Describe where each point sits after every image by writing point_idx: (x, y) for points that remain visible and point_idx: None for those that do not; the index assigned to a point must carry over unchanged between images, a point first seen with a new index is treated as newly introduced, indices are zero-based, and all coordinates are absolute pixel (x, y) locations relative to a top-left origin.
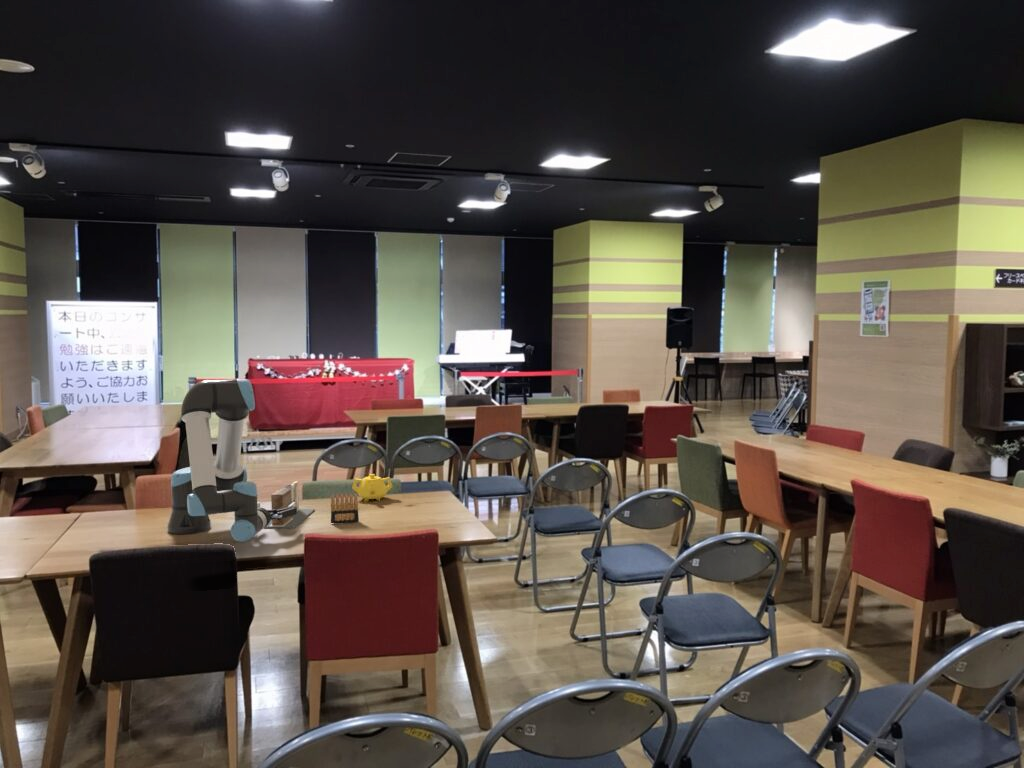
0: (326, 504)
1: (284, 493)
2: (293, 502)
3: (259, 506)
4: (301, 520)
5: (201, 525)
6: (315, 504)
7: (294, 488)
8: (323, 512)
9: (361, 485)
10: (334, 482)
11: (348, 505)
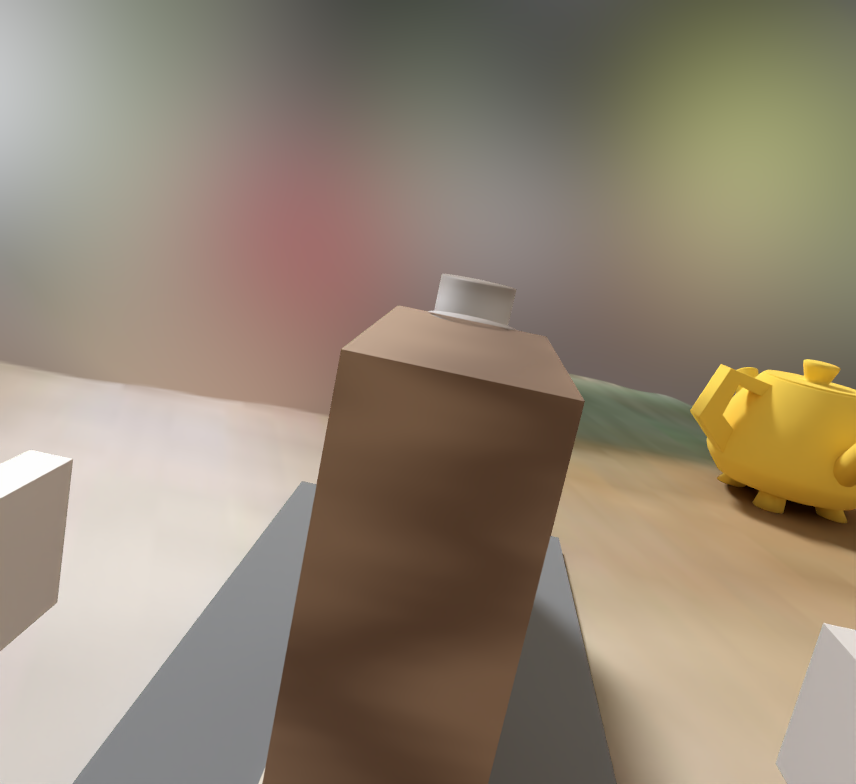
0: (572, 493)
1: (571, 380)
2: (849, 639)
3: (40, 560)
4: (610, 765)
5: None
6: None
7: None
8: (650, 593)
9: (771, 415)
10: None
11: None
